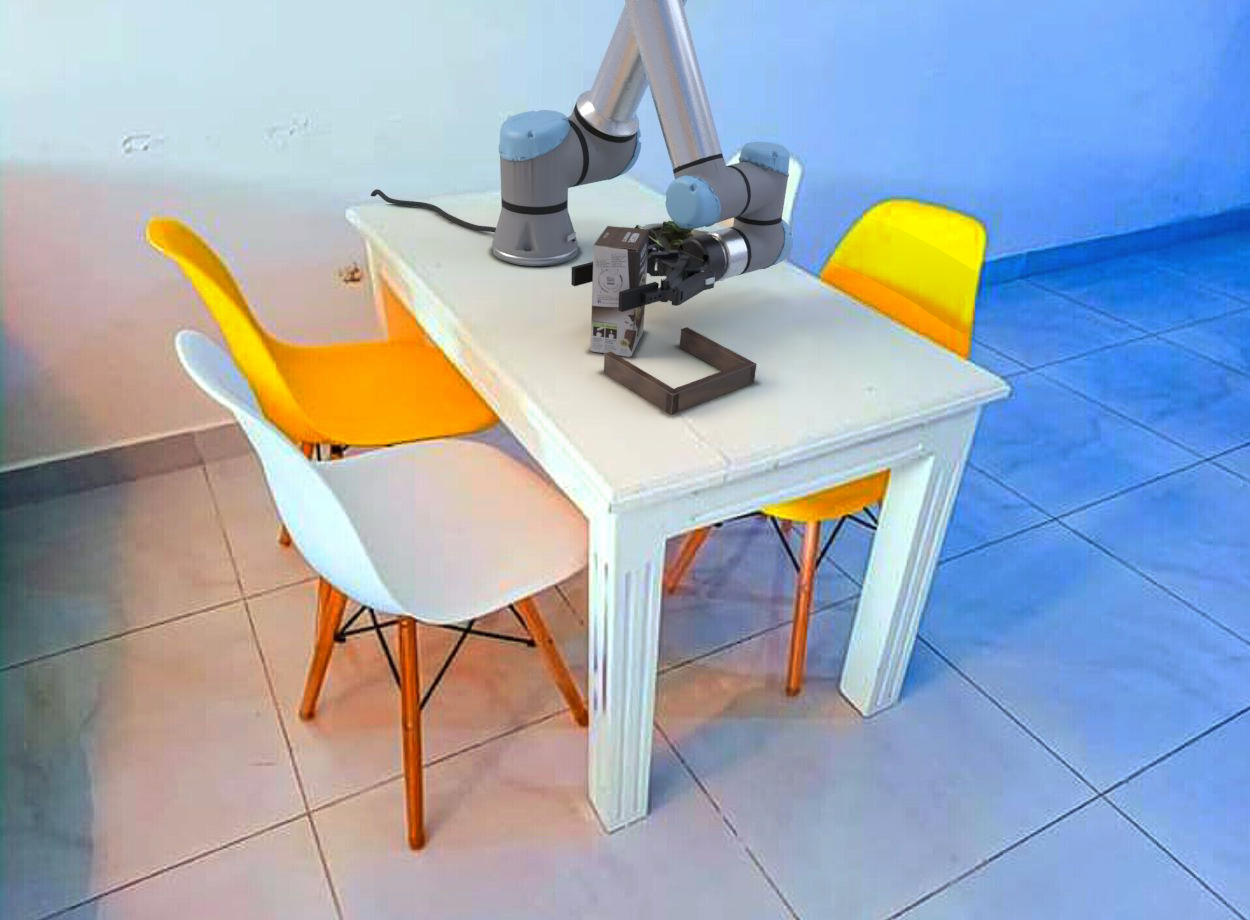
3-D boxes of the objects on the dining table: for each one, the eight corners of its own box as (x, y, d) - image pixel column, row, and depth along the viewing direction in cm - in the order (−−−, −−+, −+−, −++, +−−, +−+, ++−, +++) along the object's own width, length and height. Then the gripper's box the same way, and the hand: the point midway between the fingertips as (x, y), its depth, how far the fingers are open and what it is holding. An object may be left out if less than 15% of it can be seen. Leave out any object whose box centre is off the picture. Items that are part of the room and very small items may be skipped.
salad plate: (654, 222, 182) (655, 199, 179) (737, 240, 175) (739, 216, 173) (606, 250, 167) (607, 225, 165) (694, 271, 161) (697, 246, 158)
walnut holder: (603, 372, 127) (604, 353, 125) (685, 345, 136) (686, 326, 134) (671, 415, 118) (672, 394, 116) (754, 382, 127) (756, 363, 125)
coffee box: (632, 358, 131) (638, 250, 122) (589, 352, 132) (591, 244, 124) (645, 332, 139) (651, 228, 130) (603, 326, 140) (607, 223, 131)
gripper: (761, 305, 135) (647, 342, 123) (660, 258, 150) (549, 287, 137) (767, 256, 131) (650, 290, 119) (663, 213, 145) (549, 239, 133)
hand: (596, 289), depth 128 cm, fingers closed on coffee box, 10 cm apart
